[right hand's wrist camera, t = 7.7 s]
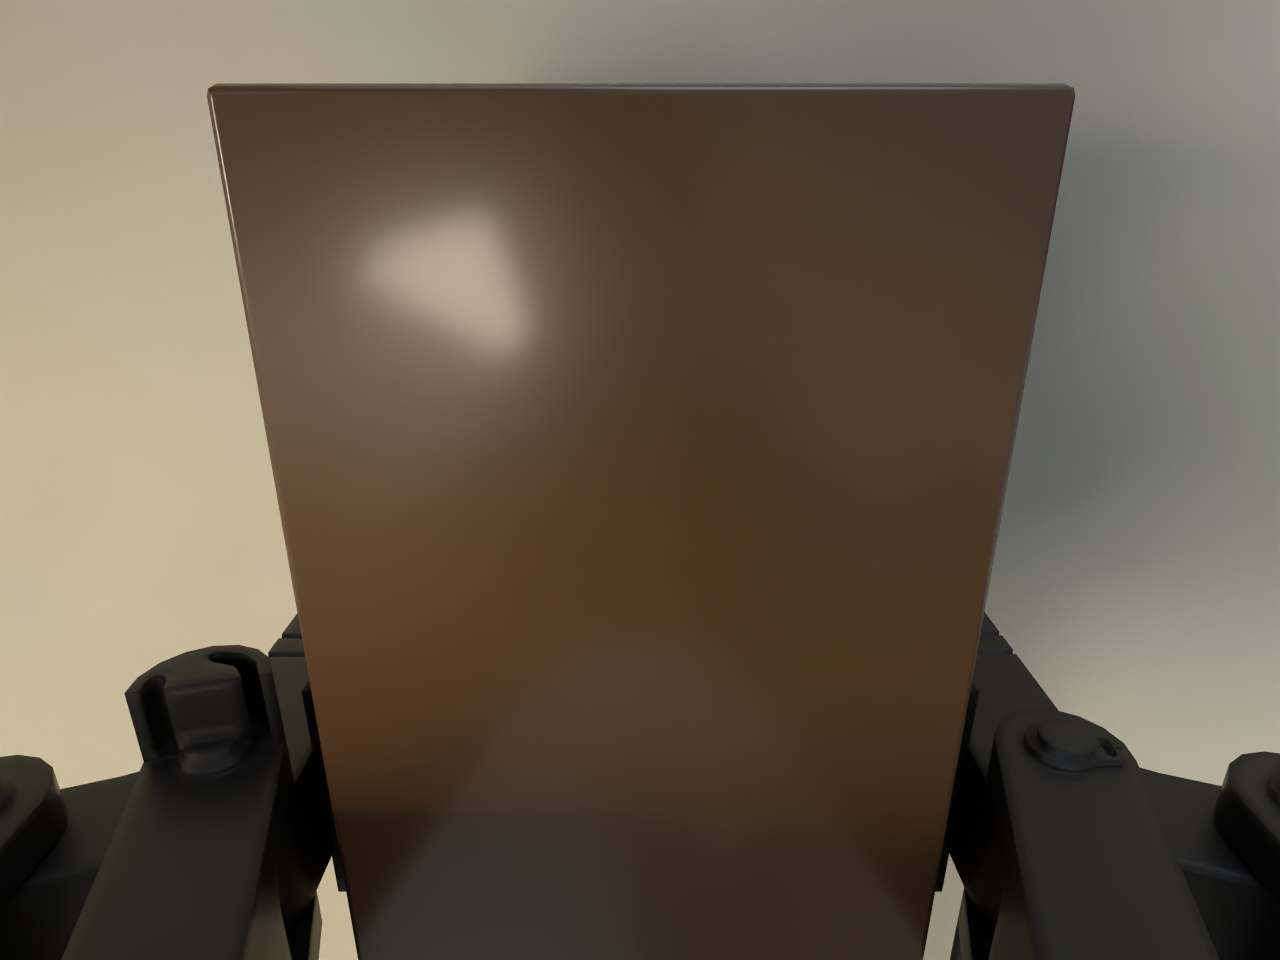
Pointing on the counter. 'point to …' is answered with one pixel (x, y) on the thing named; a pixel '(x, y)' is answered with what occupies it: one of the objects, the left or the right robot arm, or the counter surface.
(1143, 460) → the counter surface
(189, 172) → the counter surface
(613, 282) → the bar
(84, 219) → the counter surface
